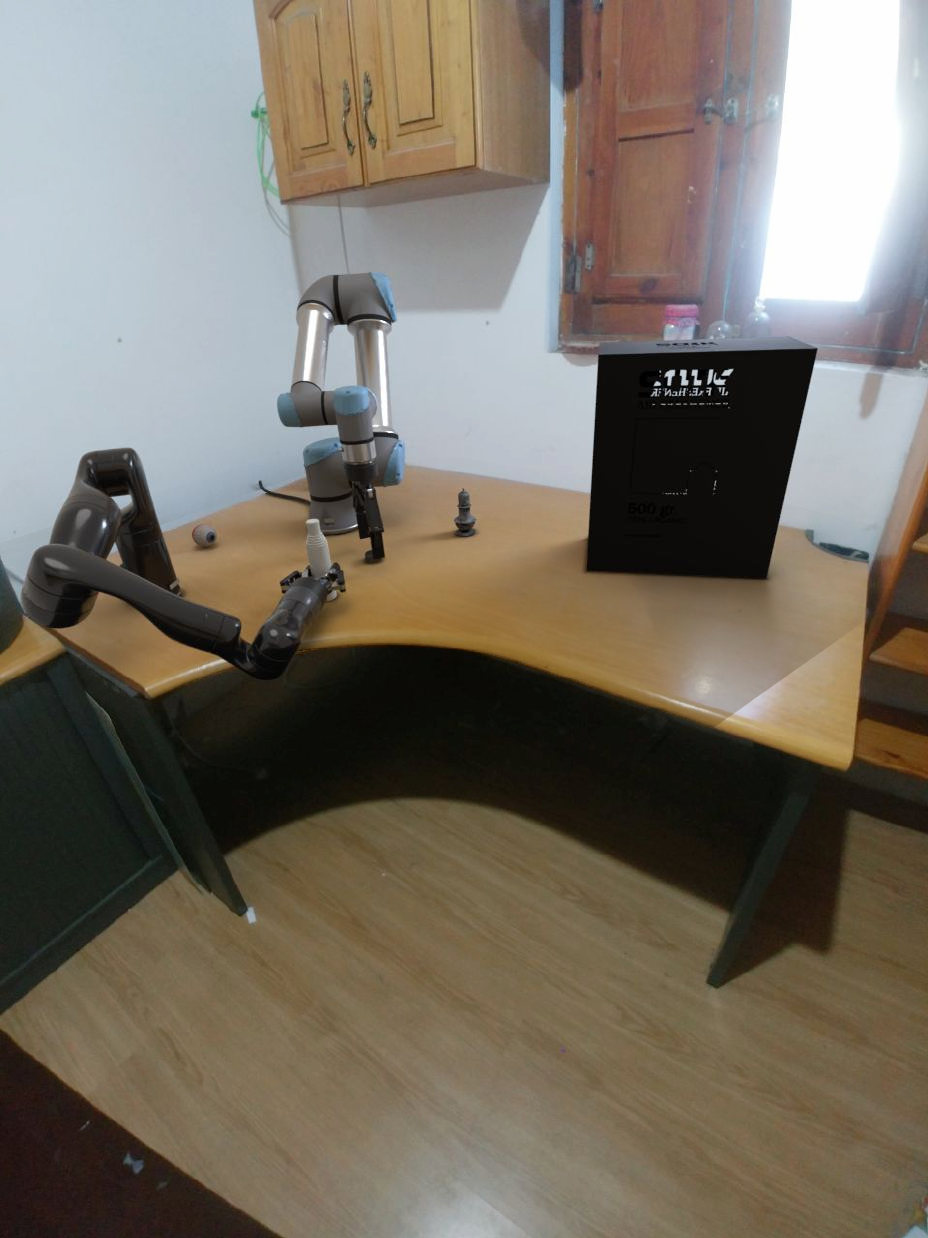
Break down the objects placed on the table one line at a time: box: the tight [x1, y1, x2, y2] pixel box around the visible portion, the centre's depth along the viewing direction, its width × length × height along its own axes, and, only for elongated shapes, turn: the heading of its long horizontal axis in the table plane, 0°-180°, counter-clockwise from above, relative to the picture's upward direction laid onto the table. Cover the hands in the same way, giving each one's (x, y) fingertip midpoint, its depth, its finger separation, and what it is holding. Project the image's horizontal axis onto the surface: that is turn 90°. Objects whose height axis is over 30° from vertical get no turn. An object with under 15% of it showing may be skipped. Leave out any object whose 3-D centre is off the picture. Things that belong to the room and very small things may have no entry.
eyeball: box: [191, 523, 218, 548], centre depth 159 cm, size 6×6×6 cm
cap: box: [364, 549, 382, 564], centre depth 147 cm, size 4×4×2 cm
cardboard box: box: [585, 335, 819, 580], centre depth 129 cm, size 38×20×45 cm, turn 78°
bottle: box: [305, 519, 338, 602], centre depth 127 cm, size 4×4×18 cm
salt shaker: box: [453, 487, 477, 537], centre depth 157 cm, size 6×6×12 cm
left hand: (325, 566), depth 131 cm, fingers closed on bottle, 4 cm apart
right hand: (371, 547), depth 146 cm, fingers open, 13 cm apart
